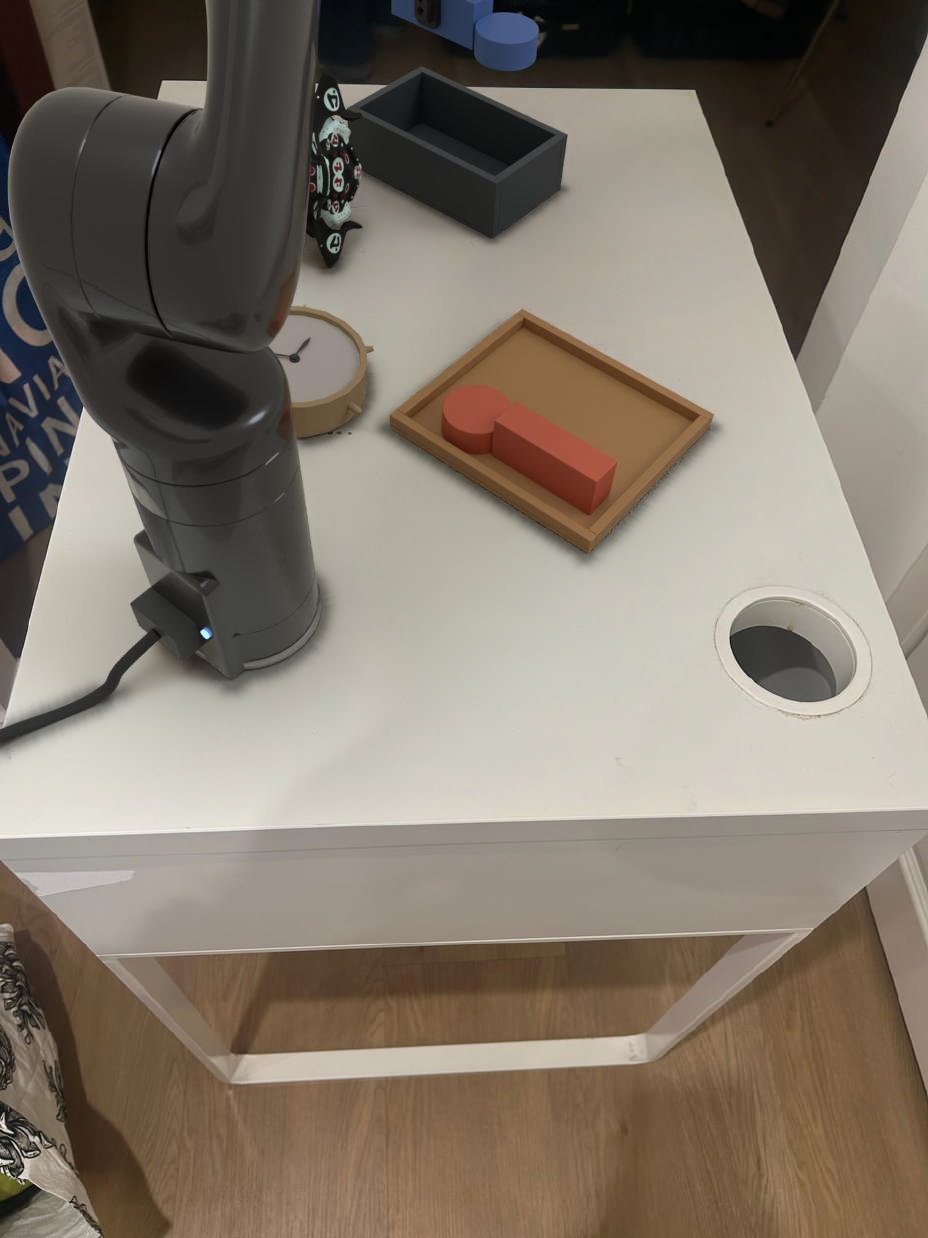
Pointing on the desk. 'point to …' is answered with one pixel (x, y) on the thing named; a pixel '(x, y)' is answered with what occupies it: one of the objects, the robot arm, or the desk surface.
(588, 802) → the desk surface
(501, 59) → the blue spoon
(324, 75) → the figurine
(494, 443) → the red spoon
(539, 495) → the tray
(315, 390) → the alarm clock
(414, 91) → the bin
